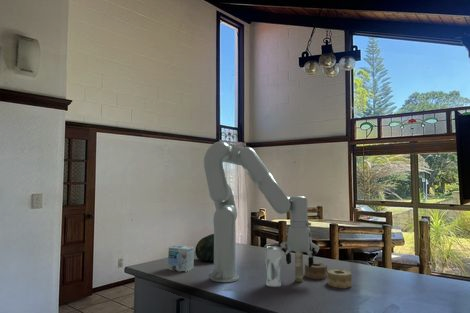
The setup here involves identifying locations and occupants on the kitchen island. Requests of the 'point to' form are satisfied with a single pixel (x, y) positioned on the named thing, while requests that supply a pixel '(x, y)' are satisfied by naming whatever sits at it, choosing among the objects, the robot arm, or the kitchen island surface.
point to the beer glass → (273, 265)
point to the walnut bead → (316, 271)
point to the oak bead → (339, 278)
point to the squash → (205, 248)
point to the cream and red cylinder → (298, 266)
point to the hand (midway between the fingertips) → (299, 265)
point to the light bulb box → (181, 258)
